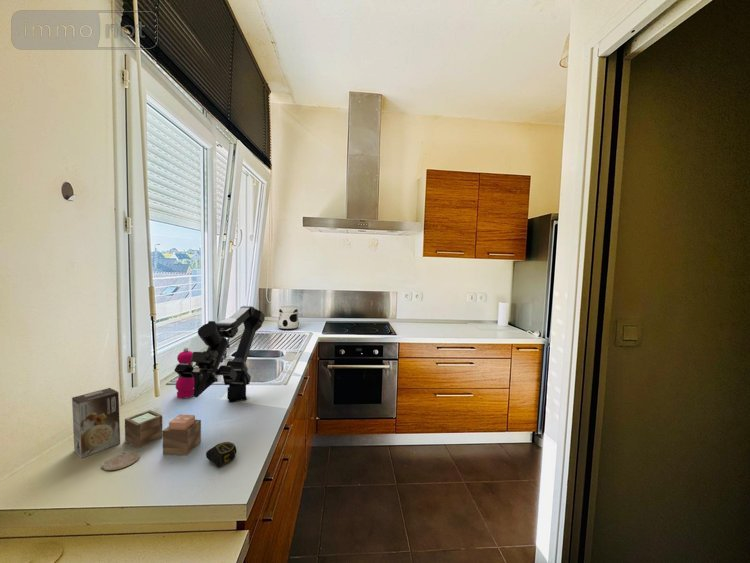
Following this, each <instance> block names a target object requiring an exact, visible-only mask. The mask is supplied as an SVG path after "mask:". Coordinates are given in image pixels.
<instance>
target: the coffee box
mask: <svg viewBox="0 0 750 563" xmlns="http://www.w3.org/2000/svg"><path fill="white" fill-rule="evenodd" d="M119 395H120V394H119V392H118V391H117V390H116V389H114V388H111V387H107V388H104V389H99V390H96V391H93V392H89V393H85V394H82V395H78V396H77V395H76V396H72V397H71V403H72V404H71V405H72V427H73V428H72V429H73V450H75V451H74V452H75V453H76V454H77V455H78V456H79V457H80V458H81V459H83V458H86V457H88V456H90V455H93V454H95V453H98V452H101V451H104V450H107V449H109V448H111V447H113V446H116V445H119V444H120V443H121V427H120V426H121V425H120V402H119V401H120V398H119V397H120V396H119Z"/></svg>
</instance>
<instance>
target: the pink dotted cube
mask: <svg viewBox="0 0 750 563" xmlns="http://www.w3.org/2000/svg"><path fill="white" fill-rule="evenodd" d="M195 420H196V415H194V414H182V413H181V414H178V415H177V416H176V417H174V418H173V419H171V420H170V421H169V422H168V426H169V430H187V429H188V428H189V427H190V426H191V425H193V424H194V423H195Z"/></svg>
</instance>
